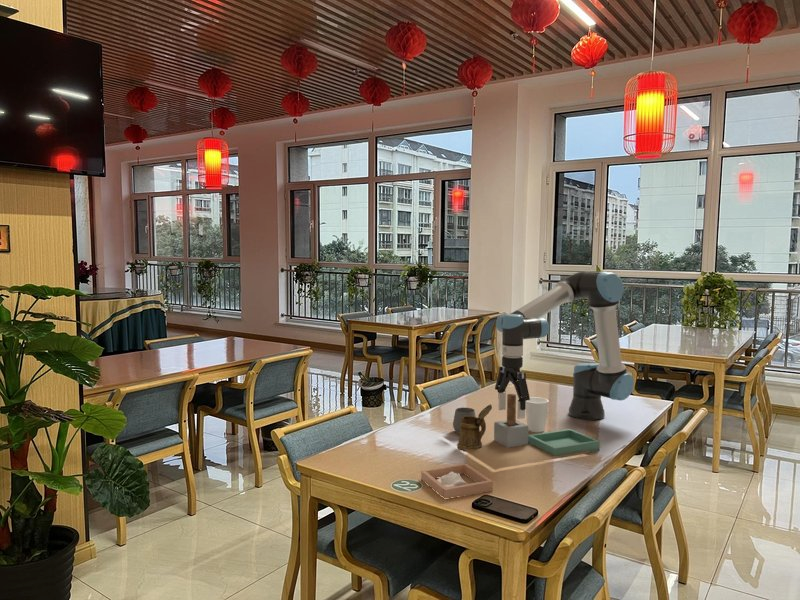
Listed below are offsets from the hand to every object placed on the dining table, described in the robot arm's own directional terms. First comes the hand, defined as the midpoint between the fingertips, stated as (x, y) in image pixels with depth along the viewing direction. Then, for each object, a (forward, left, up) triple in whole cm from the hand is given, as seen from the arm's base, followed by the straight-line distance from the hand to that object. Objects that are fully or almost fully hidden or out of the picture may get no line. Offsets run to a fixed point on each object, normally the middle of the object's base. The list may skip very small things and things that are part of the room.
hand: (511, 413), depth 216 cm
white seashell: (+38, +25, -12) cm, 47 cm away
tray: (-16, +10, -12) cm, 22 cm away
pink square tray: (+37, +25, -12) cm, 46 cm away
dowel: (0, 0, -11) cm, 11 cm away
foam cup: (-18, -9, -12) cm, 23 cm away
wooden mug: (+15, -1, -12) cm, 19 cm away
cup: (+10, -17, -12) cm, 23 cm away
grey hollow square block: (0, 0, -12) cm, 12 cm away
